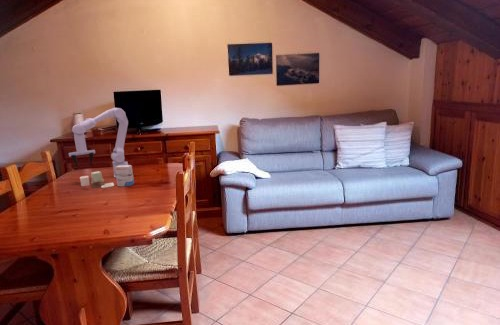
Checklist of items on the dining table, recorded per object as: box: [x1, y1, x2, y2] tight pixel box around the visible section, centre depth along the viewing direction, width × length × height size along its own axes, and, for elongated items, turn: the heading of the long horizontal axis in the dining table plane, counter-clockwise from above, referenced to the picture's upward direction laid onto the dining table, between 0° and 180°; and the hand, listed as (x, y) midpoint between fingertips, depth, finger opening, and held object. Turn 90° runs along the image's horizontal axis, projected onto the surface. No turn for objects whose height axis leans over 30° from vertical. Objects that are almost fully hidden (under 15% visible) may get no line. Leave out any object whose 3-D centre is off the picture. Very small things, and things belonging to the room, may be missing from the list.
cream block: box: [79, 175, 91, 187], centre depth 208 cm, size 4×4×5 cm
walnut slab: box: [90, 177, 106, 189], centre depth 205 cm, size 7×7×3 cm
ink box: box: [115, 164, 135, 187], centre depth 202 cm, size 8×5×12 cm, turn 84°
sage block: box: [90, 170, 103, 182], centre depth 205 cm, size 4×4×5 cm
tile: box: [100, 182, 115, 189], centre depth 204 cm, size 7×7×1 cm
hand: (84, 166), depth 211 cm, fingers open, 7 cm apart
